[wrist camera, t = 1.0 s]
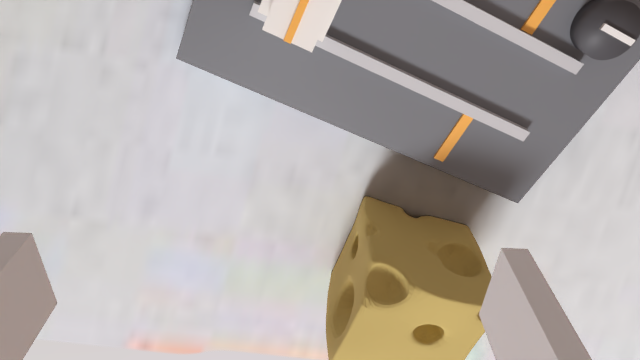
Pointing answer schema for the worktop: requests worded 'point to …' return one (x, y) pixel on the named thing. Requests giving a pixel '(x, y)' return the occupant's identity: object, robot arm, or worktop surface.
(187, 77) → the worktop surface
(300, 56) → the console
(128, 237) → the worktop surface
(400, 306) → the cheese
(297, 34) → the fader
